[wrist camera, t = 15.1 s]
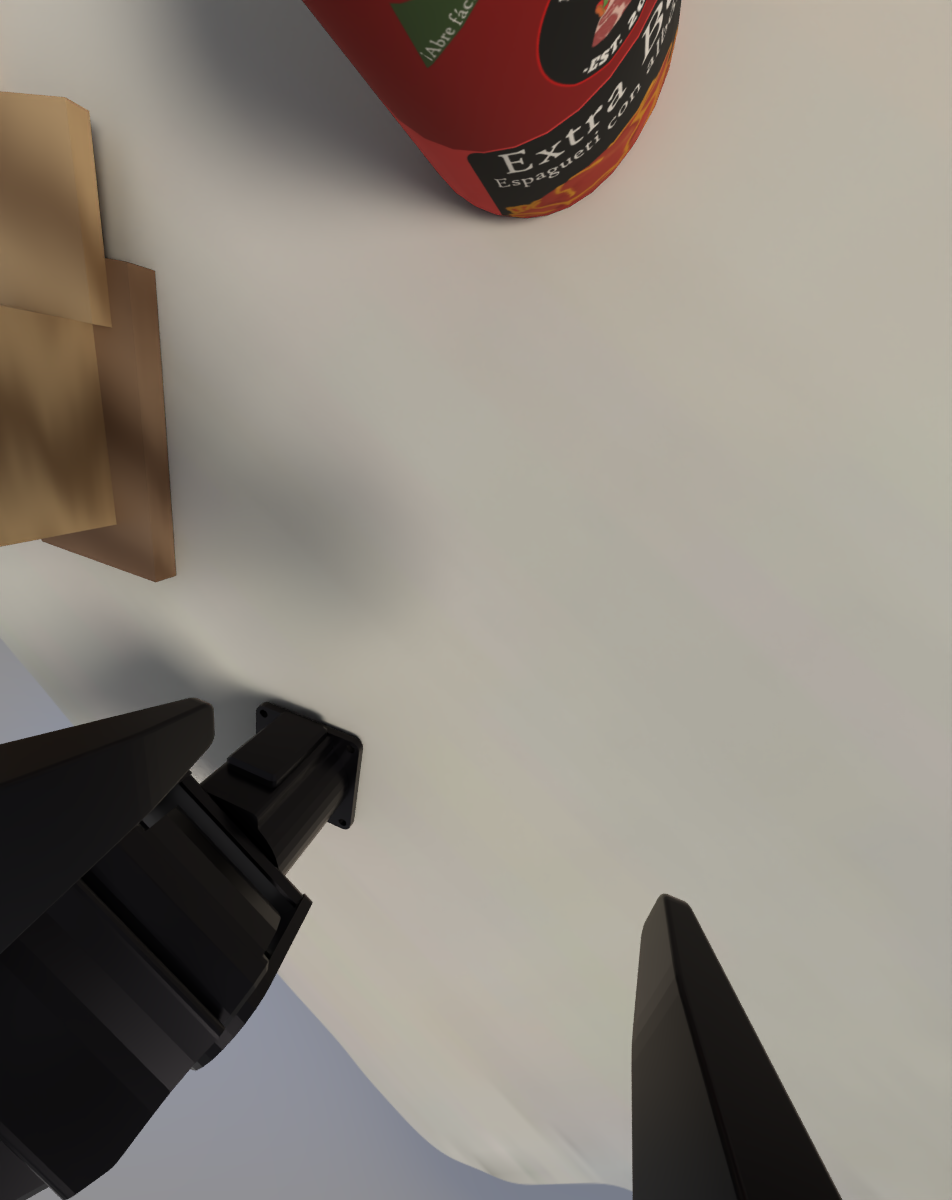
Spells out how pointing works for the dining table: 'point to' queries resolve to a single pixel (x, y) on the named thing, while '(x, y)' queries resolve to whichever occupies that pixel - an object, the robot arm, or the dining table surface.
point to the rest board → (132, 433)
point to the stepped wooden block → (50, 323)
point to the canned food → (512, 87)
